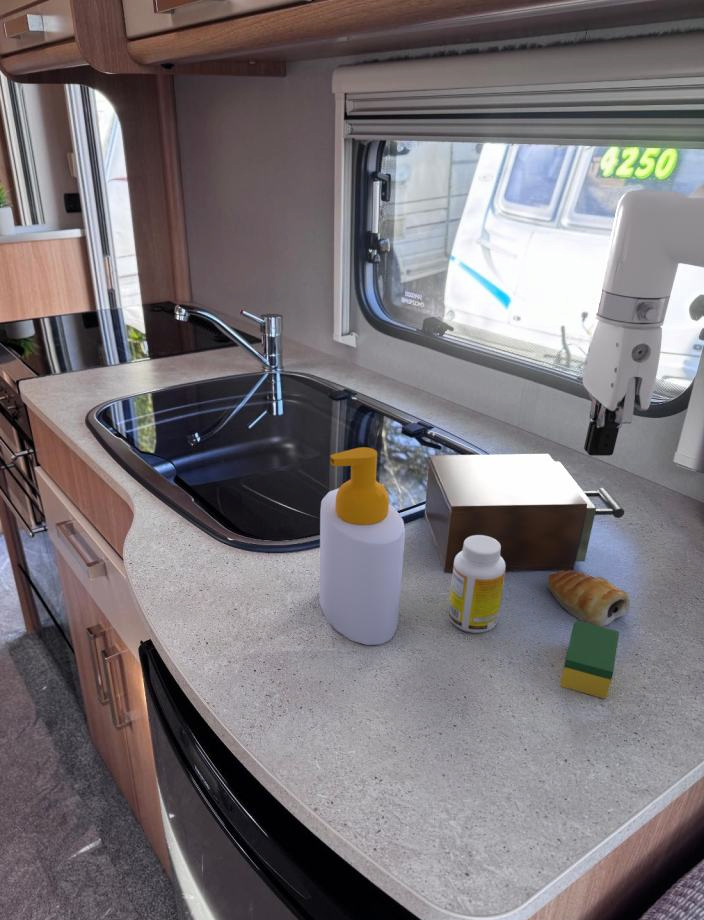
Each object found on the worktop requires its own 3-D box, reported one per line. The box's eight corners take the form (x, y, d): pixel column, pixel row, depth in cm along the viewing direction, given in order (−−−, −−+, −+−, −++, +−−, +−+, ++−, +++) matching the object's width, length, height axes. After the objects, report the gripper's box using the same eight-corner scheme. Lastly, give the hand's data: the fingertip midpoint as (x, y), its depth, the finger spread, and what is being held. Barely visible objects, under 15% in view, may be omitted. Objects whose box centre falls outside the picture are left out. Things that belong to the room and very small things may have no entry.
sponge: (569, 645, 79) (574, 619, 77) (612, 657, 77) (619, 631, 76) (559, 686, 73) (565, 659, 72) (606, 699, 72) (613, 672, 70)
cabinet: (537, 514, 105) (548, 453, 100) (573, 570, 92) (587, 504, 87) (424, 516, 104) (429, 455, 99) (444, 572, 91) (451, 506, 87)
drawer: (589, 509, 104) (600, 460, 100) (628, 560, 92) (642, 507, 89) (443, 512, 103) (448, 462, 99) (464, 563, 91) (471, 510, 88)
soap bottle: (305, 587, 88) (305, 433, 78) (367, 575, 91) (374, 424, 81) (345, 655, 77) (351, 486, 67) (414, 638, 80) (430, 473, 70)
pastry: (531, 593, 87) (536, 567, 86) (568, 576, 91) (573, 550, 89) (597, 634, 81) (604, 606, 79) (633, 613, 84) (641, 586, 82)
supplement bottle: (504, 616, 83) (517, 541, 78) (484, 641, 79) (496, 563, 74) (460, 599, 86) (469, 525, 81) (439, 623, 82) (447, 547, 77)
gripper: (695, 325, 77) (652, 479, 86) (635, 293, 90) (603, 430, 99) (626, 324, 77) (590, 479, 86) (576, 292, 90) (550, 430, 99)
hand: (598, 452), depth 92 cm, fingers closed
